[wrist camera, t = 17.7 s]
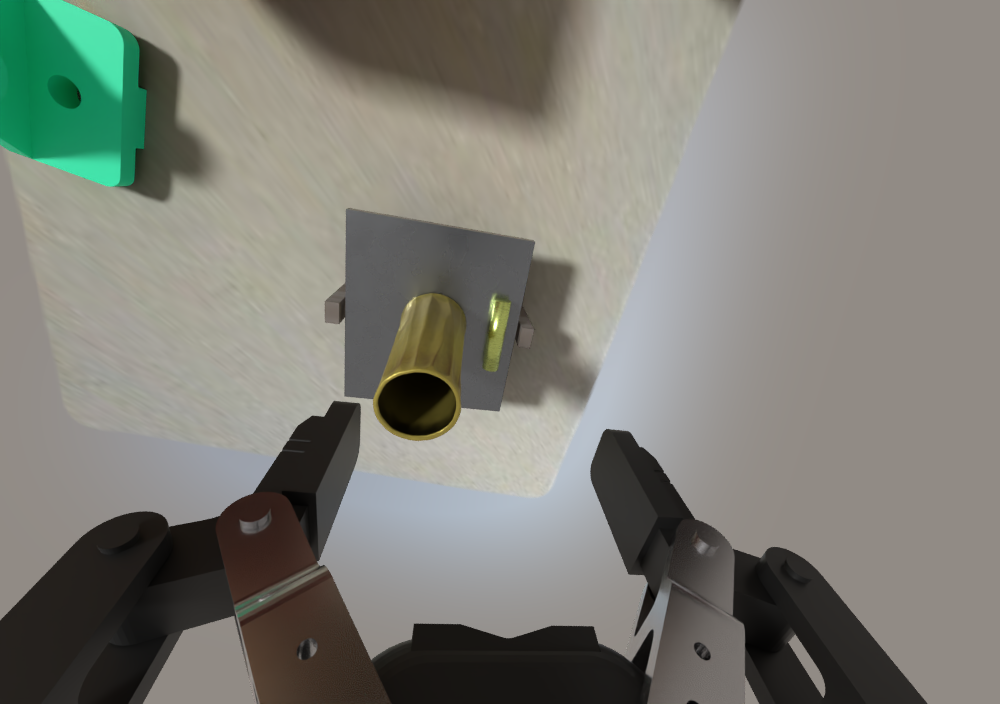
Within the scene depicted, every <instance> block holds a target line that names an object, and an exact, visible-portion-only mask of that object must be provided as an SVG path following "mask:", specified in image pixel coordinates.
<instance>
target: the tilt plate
mask: <svg viewBox="0 0 1000 704" xmlns="http://www.w3.org/2000/svg"><path fill="white" fill-rule="evenodd" d="M534 245H535V241H533V240H529V239H523V238H518V237H512V236H506V235H501V234H495V233H489V232H483V231H478V230H472V229H466V228H460V227H455V226H449V225H443V224H438V223H432V222H426V221H420V220H415V219H409V218H403V217H398V216H392V215H386V214H380V213H375V212H369V211H363V210H357V209H352V208H348V209H346V282H345V396H346V397H356V398H367V399H374V396H375V393H376V391H377V389H378V386H379V384H380V381H381V378H382V375H383V373H384V370H385V367H386V365H387V362H388V359H389V355H390V353H391V350H392V347H393V345H394V341H395V337H396V334H397V332H398V329H399V327H400V321H401V315H402V312H403V310H404V308H405V306H406V305H407V304H408V303H409V302H410V301H411V300H413V299H414V298H416V297H418V296H420V295H424V294H429V293H436V294H441V295H444V296H447V297H449V298H451V299H452V300H454V301H455V302H456V303H457V304H458V305H459V306H460V308H461V309H462V311H463V313H464V315H465V318H466V332H465V335H464V347H463V356H462V366H461V408H470V409H480V410H490V411H500V406H501V402H502V397H503V392H504V387H505V383H506V378H507V373H508V368H509V364H510V359H511V354H512V349H513V345H514V340H515V335H516V330H517V326H518V321H519V316H520V311H521V307H522V302H523V297H524V292H525V288H526V283H527V278H528V273H529V269H530V264H531V259H532V254H533V250H534Z"/></svg>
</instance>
